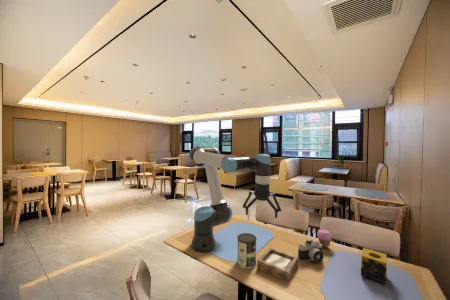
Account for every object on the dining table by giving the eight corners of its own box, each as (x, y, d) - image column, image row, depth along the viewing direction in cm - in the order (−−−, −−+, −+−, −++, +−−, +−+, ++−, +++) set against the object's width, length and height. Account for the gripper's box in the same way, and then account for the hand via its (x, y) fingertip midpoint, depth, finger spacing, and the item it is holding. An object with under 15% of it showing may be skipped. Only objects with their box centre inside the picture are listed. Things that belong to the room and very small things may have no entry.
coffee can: (256, 258, 109) (256, 233, 109) (255, 270, 99) (256, 242, 99) (238, 256, 111) (238, 232, 111) (235, 267, 101) (236, 240, 101)
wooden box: (257, 268, 100) (257, 260, 100) (270, 255, 113) (270, 247, 113) (288, 281, 91) (288, 272, 90) (298, 265, 103) (298, 257, 103)
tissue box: (361, 265, 104) (362, 247, 104) (386, 273, 98) (386, 253, 98) (360, 275, 96) (360, 255, 96) (386, 284, 90) (387, 263, 90)
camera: (305, 266, 102) (305, 248, 102) (295, 257, 111) (295, 240, 111) (329, 262, 107) (329, 244, 107) (317, 253, 115) (317, 237, 115)
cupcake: (327, 250, 119) (327, 234, 118) (314, 245, 126) (314, 229, 125) (334, 246, 124) (334, 231, 124) (321, 241, 131) (321, 226, 131)
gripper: (238, 182, 103) (237, 222, 104) (287, 186, 97) (285, 227, 98) (240, 180, 110) (239, 217, 111) (286, 183, 105) (284, 222, 105)
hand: (261, 222), depth 105 cm, fingers open, 13 cm apart
